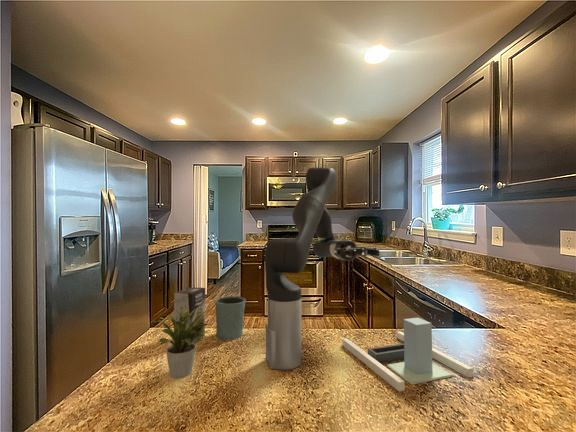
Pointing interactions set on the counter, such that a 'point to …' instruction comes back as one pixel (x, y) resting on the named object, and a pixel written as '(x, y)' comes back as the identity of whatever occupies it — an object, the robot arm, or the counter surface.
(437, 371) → the pad
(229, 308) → the teal cup
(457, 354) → the counter surface
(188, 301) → the coffee box
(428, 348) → the grey tall block
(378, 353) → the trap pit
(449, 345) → the counter surface
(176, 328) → the house plant
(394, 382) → the lane rails
